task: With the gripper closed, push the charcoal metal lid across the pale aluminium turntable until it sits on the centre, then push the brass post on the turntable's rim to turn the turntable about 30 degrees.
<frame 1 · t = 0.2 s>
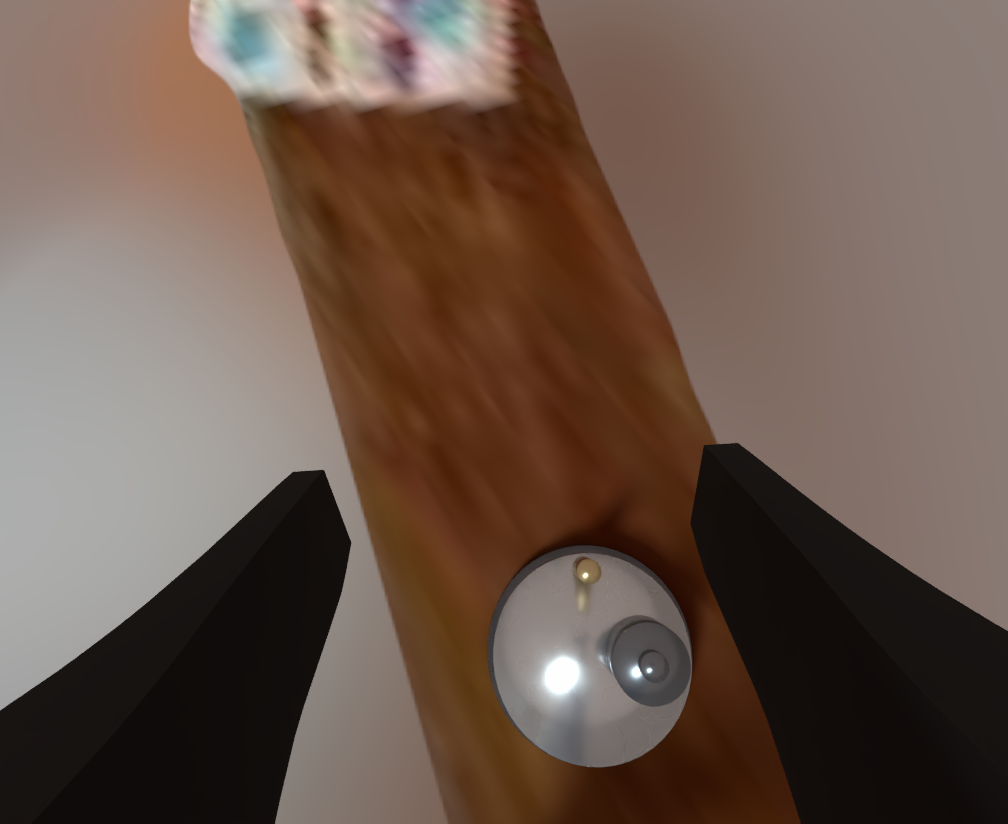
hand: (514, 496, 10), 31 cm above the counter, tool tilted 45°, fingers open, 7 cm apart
turntable base: (587, 647, 38), on the counter
turntable: (593, 659, 34), point 4 cm above the counter, hinge at 0.0°, touching lid
lid: (641, 652, 35), point 2 cm above the counter, touching turntable
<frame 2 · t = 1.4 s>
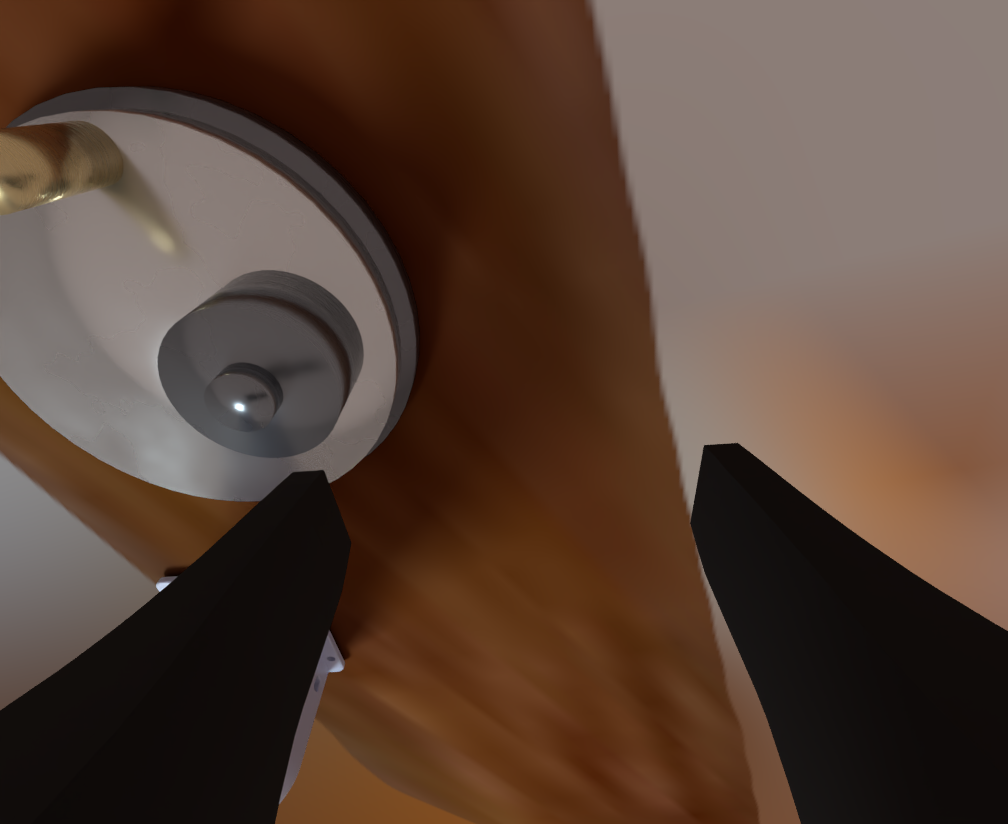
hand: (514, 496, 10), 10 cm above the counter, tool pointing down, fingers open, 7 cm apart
turntable base: (221, 322, 19), on the counter
turntable: (168, 367, 16), point 4 cm above the counter, hinge at 0.0°, touching lid
lid: (288, 343, 17), point 2 cm above the counter, touching turntable
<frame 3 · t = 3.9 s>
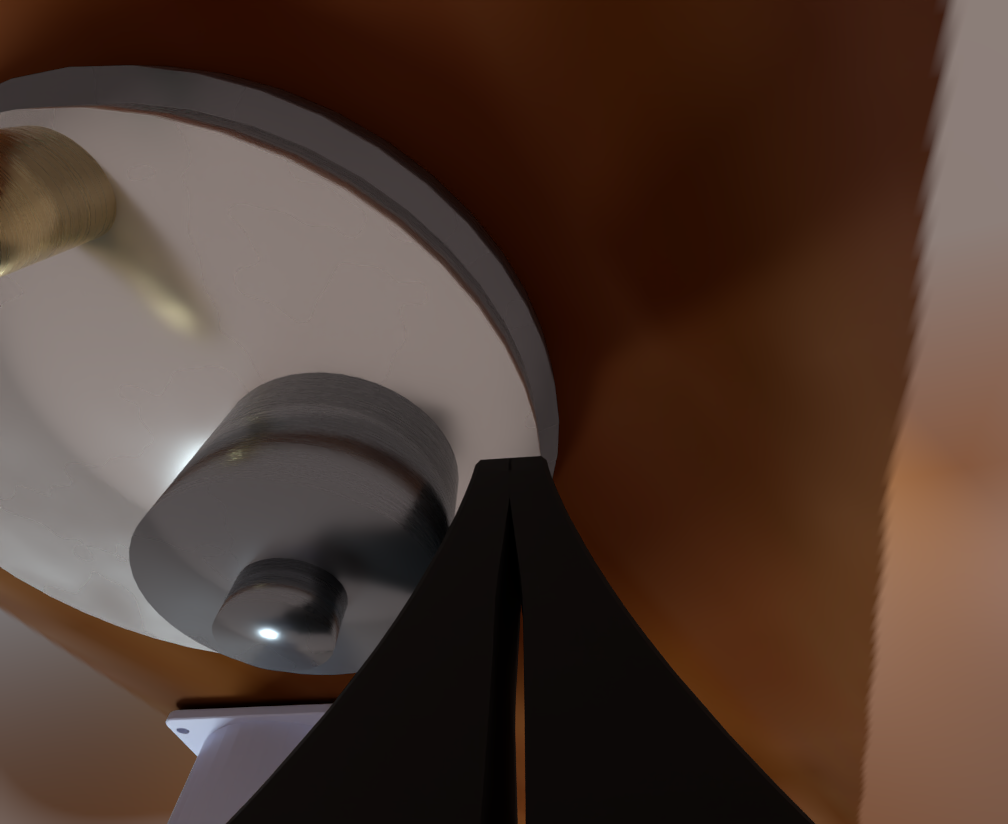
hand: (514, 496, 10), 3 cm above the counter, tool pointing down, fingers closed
turntable base: (264, 419, 13), on the counter
turntable: (192, 522, 10), point 4 cm above the counter, hinge at 0.0°, touching lid
lid: (342, 473, 11), point 2 cm above the counter, touching gripper, turntable
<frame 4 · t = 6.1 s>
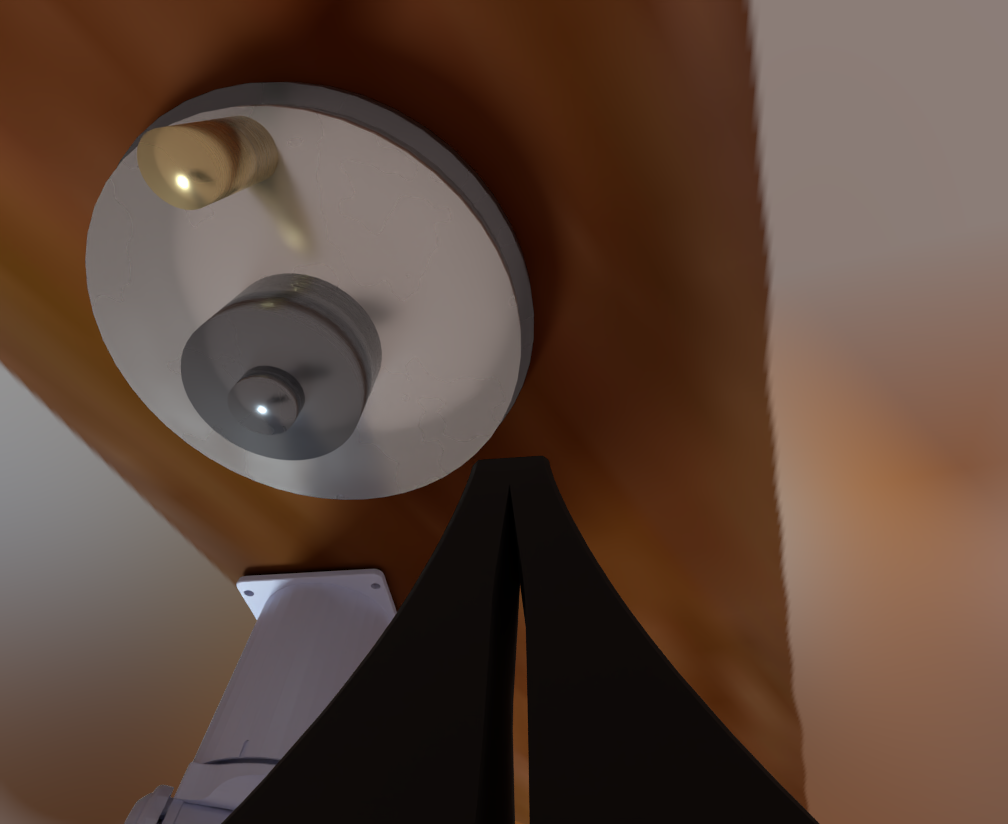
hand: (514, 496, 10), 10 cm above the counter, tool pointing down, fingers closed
turntable base: (334, 319, 19), on the counter
turntable: (302, 364, 16), point 4 cm above the counter, hinge at 0.0°, touching lid
lid: (307, 346, 17), point 2 cm above the counter, touching turntable
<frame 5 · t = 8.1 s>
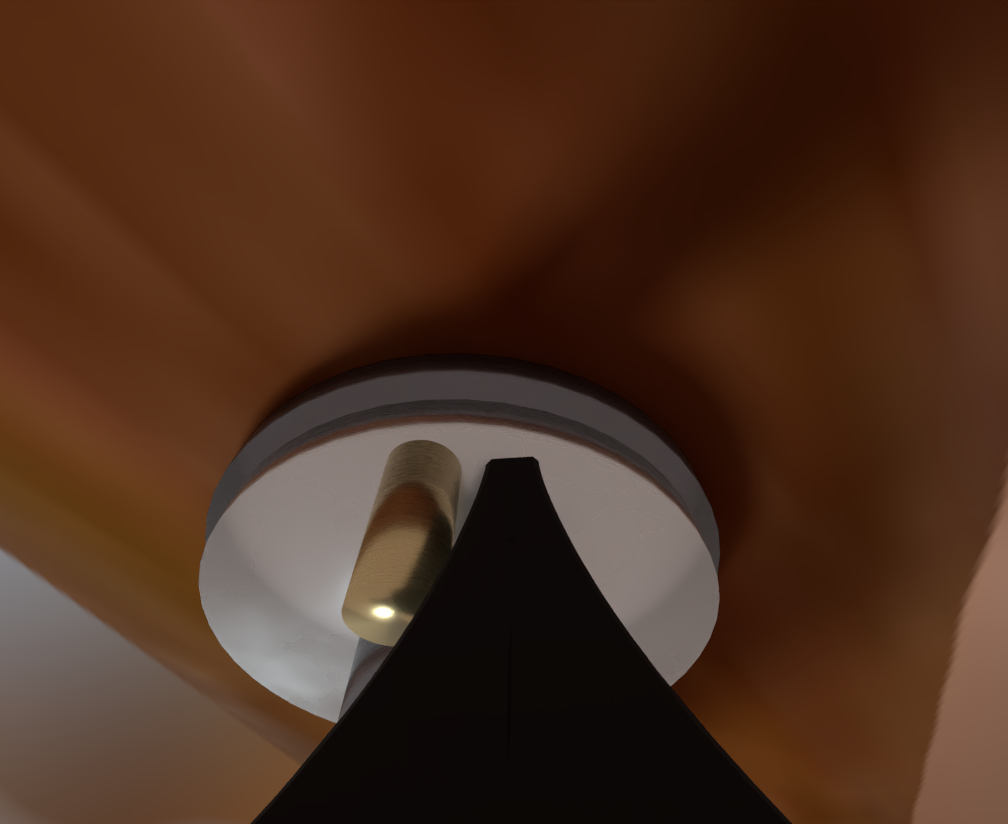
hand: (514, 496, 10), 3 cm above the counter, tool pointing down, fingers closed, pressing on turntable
turntable base: (467, 563, 16), on the counter
turntable: (459, 673, 13), point 4 cm above the counter, hinge at 0.1°, touching gripper, lid
lid: (454, 630, 14), point 2 cm above the counter, touching turntable
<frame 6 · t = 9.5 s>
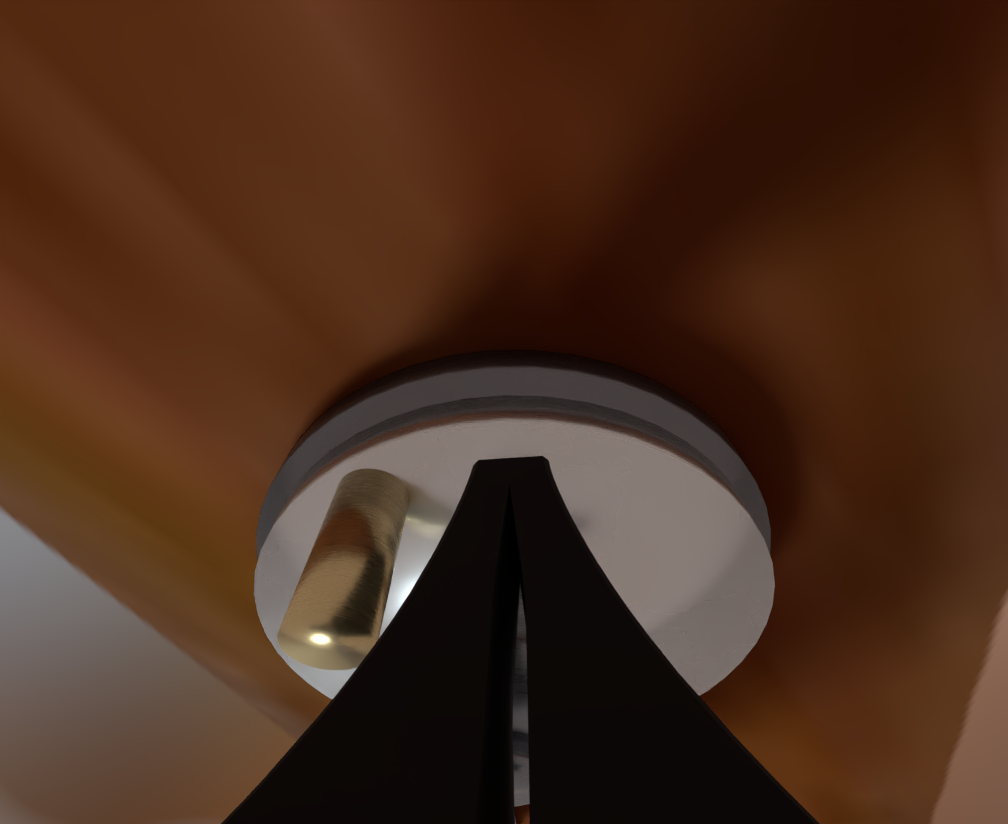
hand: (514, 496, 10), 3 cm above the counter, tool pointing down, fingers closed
turntable base: (512, 560, 16), on the counter
turntable: (513, 670, 13), point 4 cm above the counter, hinge at 27.4°, touching lid
lid: (505, 630, 14), point 2 cm above the counter, touching turntable
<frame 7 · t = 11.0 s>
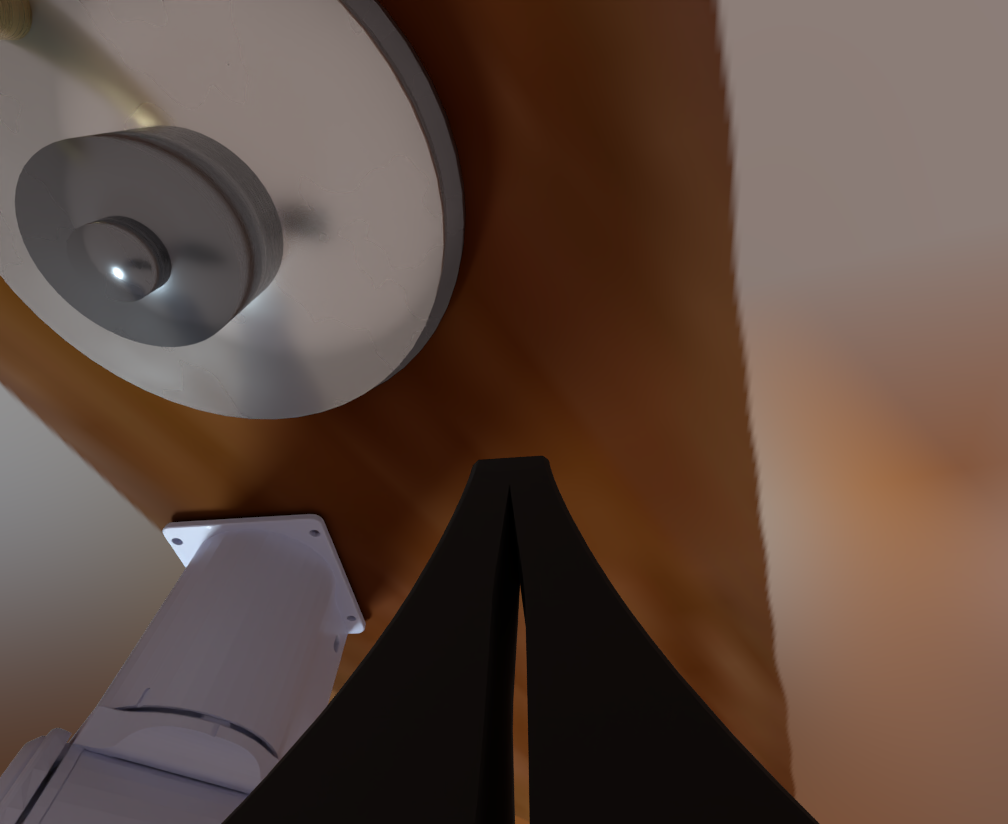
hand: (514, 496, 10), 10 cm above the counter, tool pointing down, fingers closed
turntable base: (239, 204, 17), on the counter
turntable: (181, 233, 14), point 4 cm above the counter, hinge at 27.4°, touching lid
lid: (195, 223, 15), point 2 cm above the counter, touching turntable
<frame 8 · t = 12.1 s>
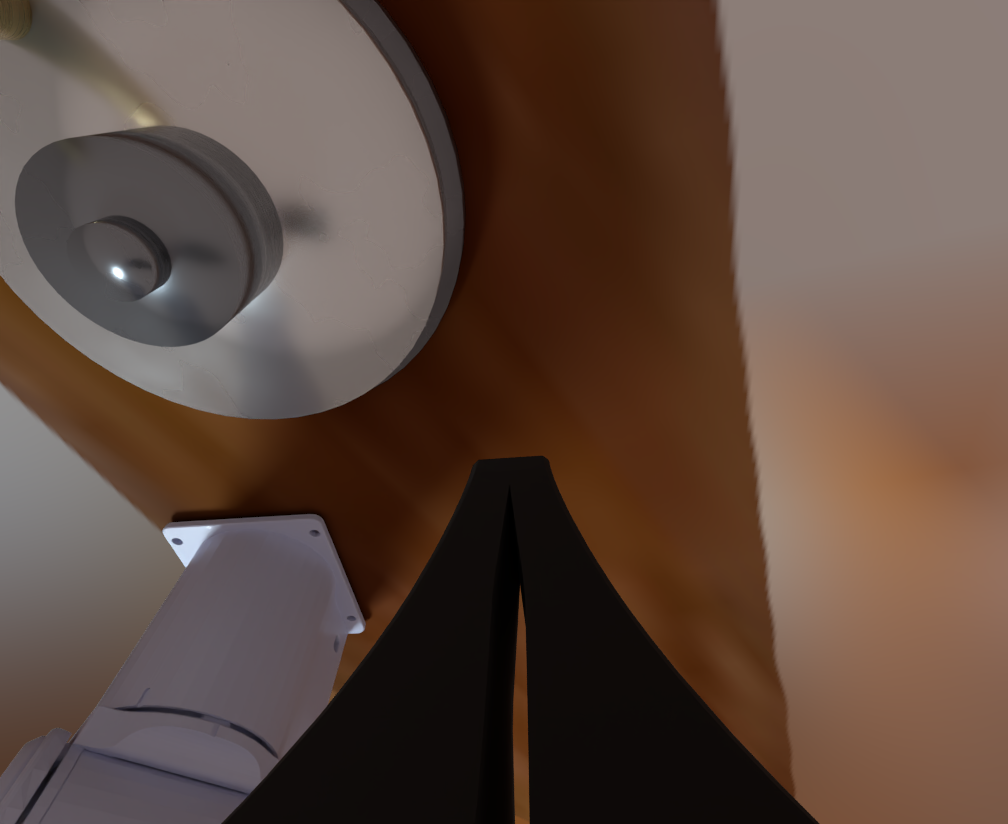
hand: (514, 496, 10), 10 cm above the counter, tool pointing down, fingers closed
turntable base: (239, 204, 17), on the counter
turntable: (181, 233, 14), point 4 cm above the counter, hinge at 27.4°, touching lid
lid: (195, 223, 15), point 2 cm above the counter, touching turntable
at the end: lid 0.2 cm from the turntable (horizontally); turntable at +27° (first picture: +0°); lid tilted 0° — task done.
